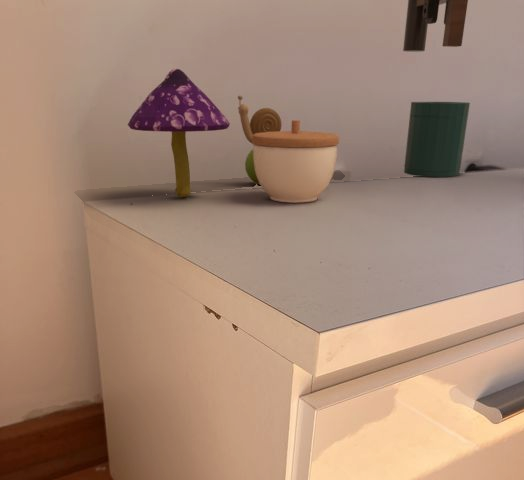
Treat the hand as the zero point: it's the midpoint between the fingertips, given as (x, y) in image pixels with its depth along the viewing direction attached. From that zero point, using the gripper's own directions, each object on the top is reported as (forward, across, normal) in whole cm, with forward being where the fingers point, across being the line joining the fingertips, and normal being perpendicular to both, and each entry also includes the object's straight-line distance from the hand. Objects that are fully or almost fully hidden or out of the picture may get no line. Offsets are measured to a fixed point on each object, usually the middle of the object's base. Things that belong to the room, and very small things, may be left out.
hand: (440, 23), depth 78 cm
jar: (+21, +6, +9) cm, 24 cm away
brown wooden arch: (+3, 0, +2) cm, 4 cm away
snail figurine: (+22, -25, +1) cm, 33 cm away
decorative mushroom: (+22, -37, -8) cm, 43 cm away
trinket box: (+22, -23, -11) cm, 33 cm away
